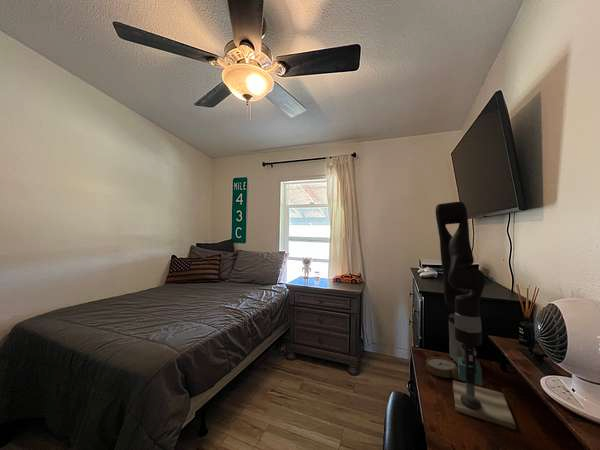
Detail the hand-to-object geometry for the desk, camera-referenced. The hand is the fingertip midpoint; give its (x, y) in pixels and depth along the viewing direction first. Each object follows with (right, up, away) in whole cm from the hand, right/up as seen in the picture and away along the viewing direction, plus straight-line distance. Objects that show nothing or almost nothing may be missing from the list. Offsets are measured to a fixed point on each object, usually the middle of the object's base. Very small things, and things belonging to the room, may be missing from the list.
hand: (469, 377), depth 79 cm
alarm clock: (+5, -11, +20) cm, 24 cm away
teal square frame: (0, 0, 0) cm, 0 cm away
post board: (+5, -10, +2) cm, 11 cm away
